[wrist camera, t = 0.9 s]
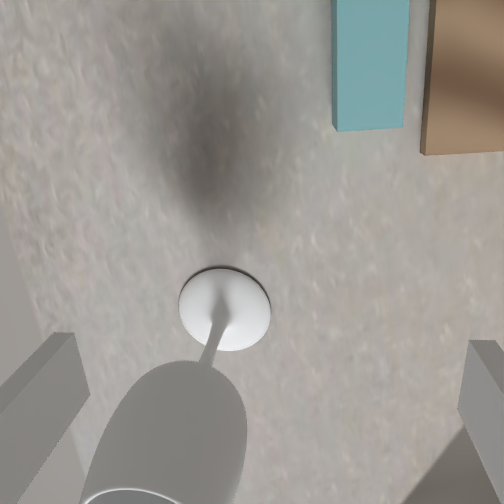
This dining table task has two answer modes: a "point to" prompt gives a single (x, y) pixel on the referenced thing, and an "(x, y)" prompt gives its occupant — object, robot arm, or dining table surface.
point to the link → (369, 63)
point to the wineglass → (185, 408)
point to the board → (464, 78)
